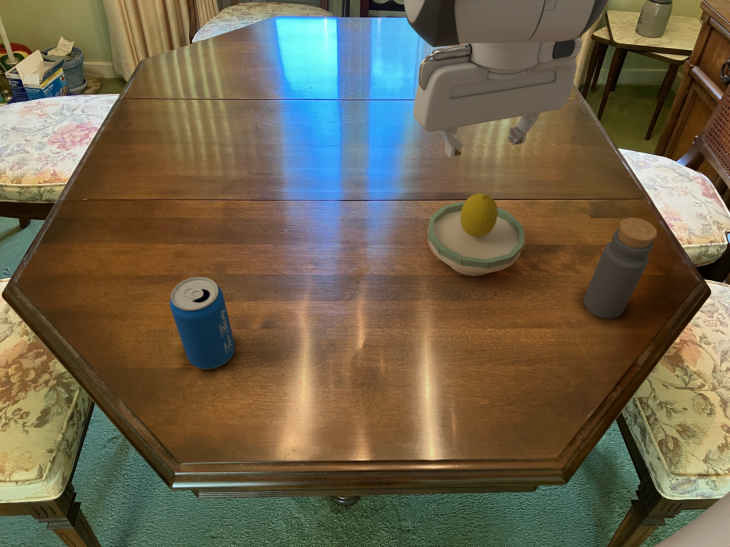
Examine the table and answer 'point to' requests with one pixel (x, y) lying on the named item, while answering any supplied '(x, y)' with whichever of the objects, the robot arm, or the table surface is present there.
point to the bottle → (620, 268)
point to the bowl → (475, 242)
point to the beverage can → (202, 322)
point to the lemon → (478, 215)
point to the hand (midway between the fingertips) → (484, 148)
